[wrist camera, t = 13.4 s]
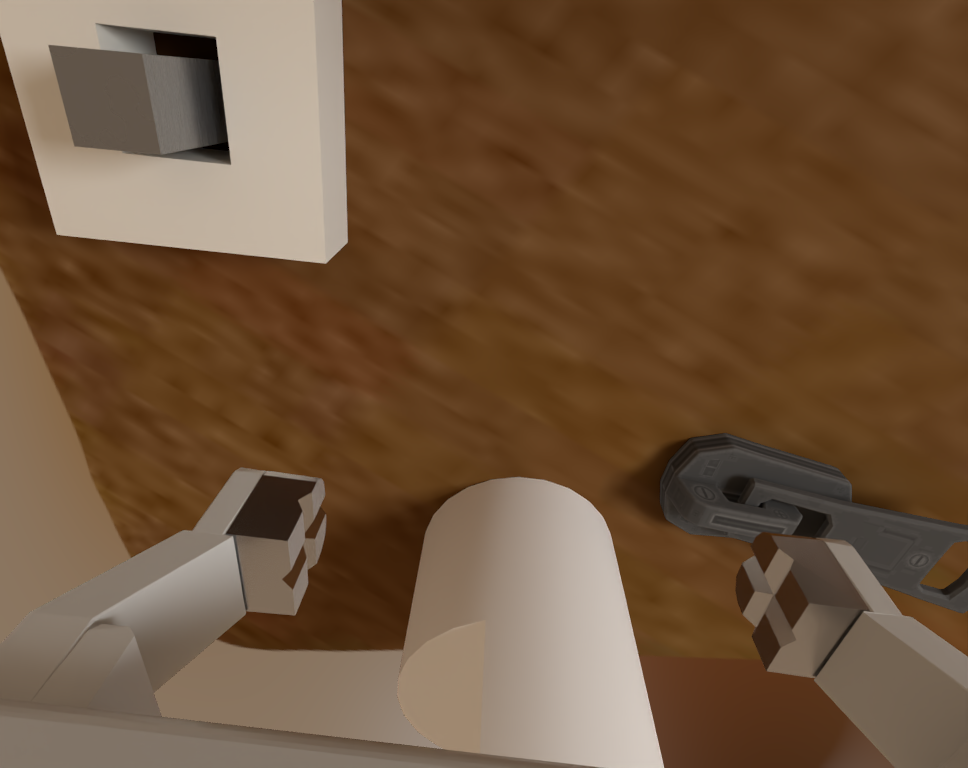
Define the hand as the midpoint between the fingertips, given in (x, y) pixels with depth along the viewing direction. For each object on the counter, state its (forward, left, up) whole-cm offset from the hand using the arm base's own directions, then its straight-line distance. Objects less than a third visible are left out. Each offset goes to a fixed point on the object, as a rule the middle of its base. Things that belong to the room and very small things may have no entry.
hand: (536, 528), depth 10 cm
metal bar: (-5, -19, -29) cm, 35 cm away
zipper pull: (+20, +27, -29) cm, 45 cm away
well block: (-5, -19, -29) cm, 35 cm away
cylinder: (+30, +4, -29) cm, 42 cm away
